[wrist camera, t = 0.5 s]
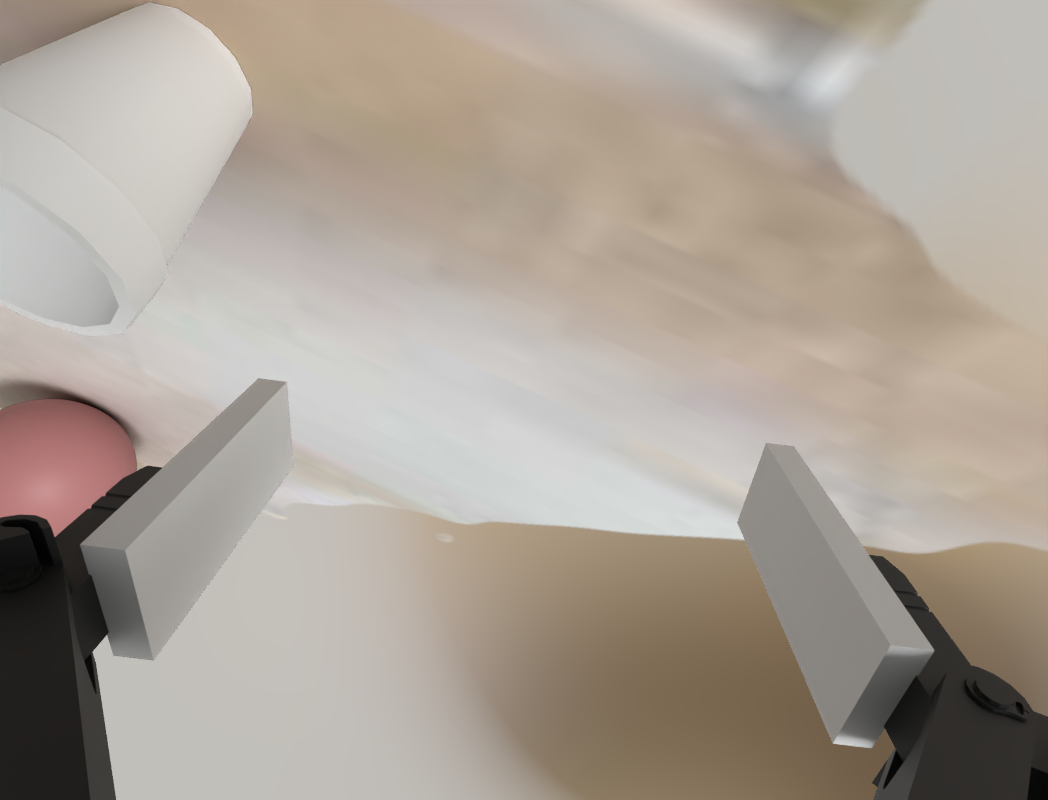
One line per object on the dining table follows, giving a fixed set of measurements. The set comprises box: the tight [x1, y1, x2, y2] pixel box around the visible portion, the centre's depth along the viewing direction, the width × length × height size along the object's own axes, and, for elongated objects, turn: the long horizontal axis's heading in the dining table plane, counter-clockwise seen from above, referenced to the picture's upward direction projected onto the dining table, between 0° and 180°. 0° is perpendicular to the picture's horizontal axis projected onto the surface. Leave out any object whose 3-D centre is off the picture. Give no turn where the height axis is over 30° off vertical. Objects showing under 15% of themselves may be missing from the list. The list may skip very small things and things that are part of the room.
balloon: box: [0, 399, 137, 537], centre depth 64 cm, size 15×20×15 cm
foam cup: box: [0, 2, 253, 337], centre depth 25 cm, size 10×9×13 cm
